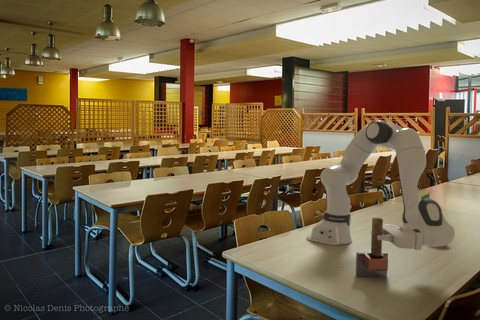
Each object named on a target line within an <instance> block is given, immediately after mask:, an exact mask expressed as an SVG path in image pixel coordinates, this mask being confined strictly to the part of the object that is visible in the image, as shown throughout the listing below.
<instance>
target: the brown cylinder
mask: <svg viewBox="0 0 480 320" xmlns="http://www.w3.org/2000/svg"><path fill="white" fill-rule="evenodd" d="M383 222H384V219H383V218H382V217H372V219H371V231H372V234H371V242H370V244H371V245H370V252H371V255H372V256H376V257H379V256H381V253H382V252H383V251H382V249H383V248H382V247H383V240H378V239H377V238H376V237H377V234H381V235H382V227H383V224H384V223H383Z"/></svg>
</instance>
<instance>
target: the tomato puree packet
mask: <svg viewBox="0 0 480 320" xmlns="http://www.w3.org/2000/svg"><path fill="white" fill-rule="evenodd" d="M423 199H430V193H426V194H425V195H422V196H421V197H420V201H421V200H423Z"/></svg>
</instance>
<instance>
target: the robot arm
mask: <svg viewBox="0 0 480 320" xmlns="http://www.w3.org/2000/svg"><path fill="white" fill-rule="evenodd" d="M378 146H380V147H382V148H386V149H393V150H394V151H395V154H396V160H397V165H398V170H399V171H398V172H399V182H400V184H399V185H400V191H401V198H402V202H403V203H402V204H403V213H402V219H401V220H402V223H403V224H402V226H398V225H396V224H392V223H391V224H390V223H383V227H382V235H381V234H377V237H376V238H377V239H378V240H382V241H385V242H390V243H392V245H394V246H395V247H396V248H399V249H407V250H408V249H410V250H411V249H413V250H416V251H421V250H422V247H424V246H427V247H444V246H448V245H450V244H451V243H452V242H453V240H454V238H455V228H454V226H453V225H452V224H451V223H449V222H448V220H447V219H446V218H445V216H444V214H443V211H442V208H441V206H440V204H439V203H438V202H437V201H435V200H433V199H432V198H429V199H423V200H421V199H420V197H419V192H418V184H419V180H420V177H421V175H422V174H423V172H424V171H425V169H426V166H427V154H426V151H425V147H424V144H423V142H422V139H421V138H420V135H419V134H418V132H417V131H416V130H415V129H414V128H410V127H403V126H400V125H398V124H395V123H392V122H388V121H384V120H373V121H371V122H370V123H369V124H366V125H364V126H363V127H362V128H361V129H360V130H359V131H358V132H357V133H356V134H355V135H354V137H353V138H352V139H351V140H350V142H349V143H348V144H347V146H346V147H345V149H344V150H343V156H342V158H341V161H340V162H339V163H338V164H334V165H329V166H327V167H325V168H324V169H322V171H321V173H320V175H319V176H320V181H321V182H320V183H322V185H323V186H324V189H325V192H326V198H327V207H326V208H327V209H326V210H325V211H324V212H323V213H322V214H323V215H322V218H323V219H321V220H320V221H319V222H317V223H315V224H314V225H313V227H312V229H311V232H310V233H308V234H307V237H306V239H307V241H311V242H315V243H321V244H326V245H330V246H339V245H347V244H351V243H353V240H352V236H351V228H350V227H351V220H352V217H351V211H350V210H351V198H350V196H349V195H348V191H347V186H350V185H351V184H353V183H354V182H356V181H357V179H358V178H359V173H360V171H361V169H362V166H363V165H364V163H365V162H366V161H367V159H368V158H369V157H370V156H371V154H372V153H373V152H374V150H376V148H377V147H378ZM370 233H371V235H372V230H371V232H370Z"/></svg>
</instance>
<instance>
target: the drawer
mask: <svg viewBox="0 0 480 320" xmlns="http://www.w3.org/2000/svg"><path fill="white" fill-rule="evenodd" d="M355 252H356V253H355V254H356V257H355V277H357V278H378V277H379V278H387V277H388V269H389V253H388V251H382V253H381V256H379V257H376V256H372V255H371V251H360V252H359V251H355Z"/></svg>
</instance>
